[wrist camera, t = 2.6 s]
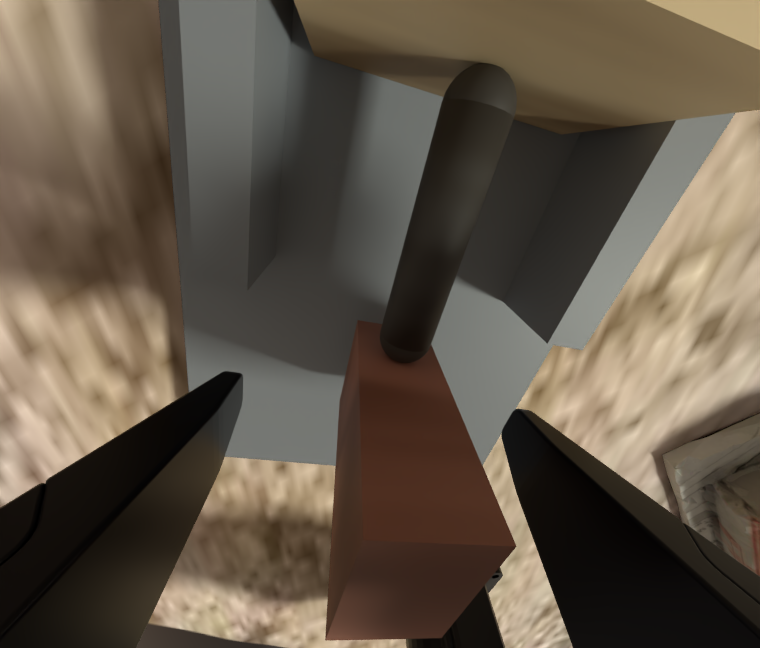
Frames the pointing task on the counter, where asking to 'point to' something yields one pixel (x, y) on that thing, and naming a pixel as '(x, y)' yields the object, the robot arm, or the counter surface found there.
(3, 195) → the counter surface
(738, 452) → the packaged product
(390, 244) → the shelf lane
